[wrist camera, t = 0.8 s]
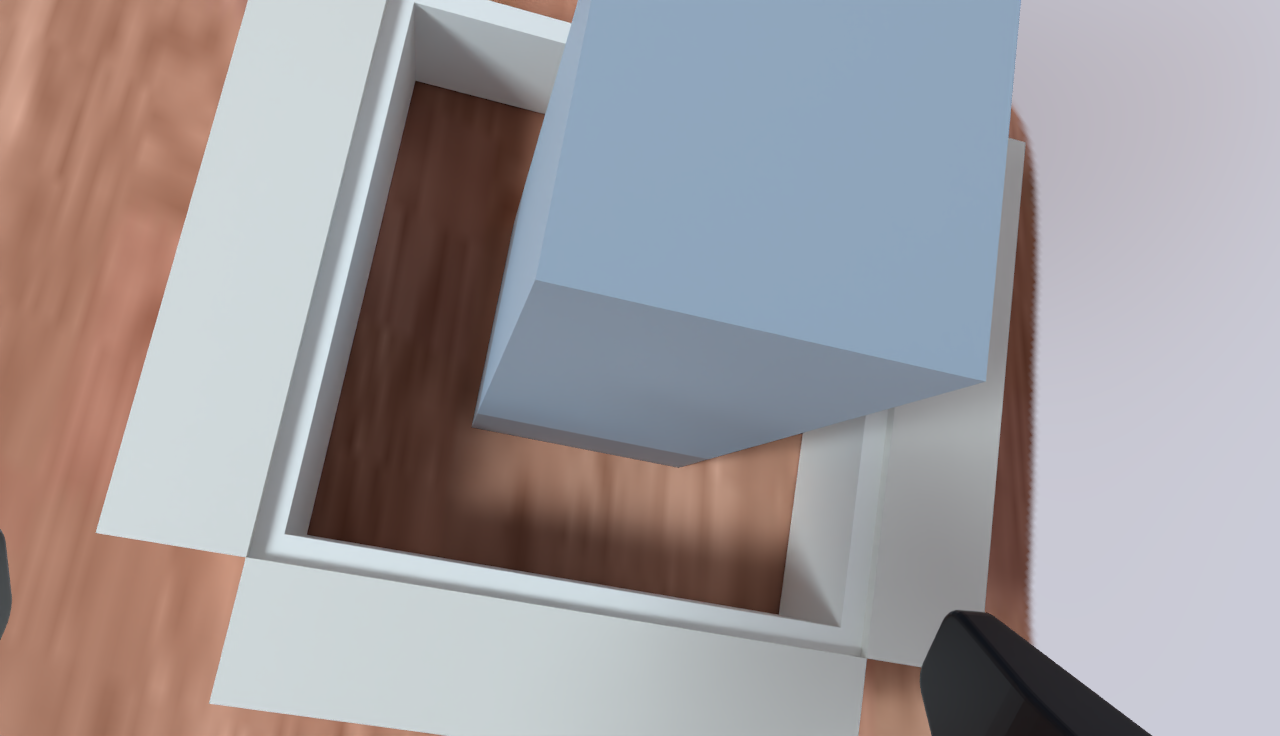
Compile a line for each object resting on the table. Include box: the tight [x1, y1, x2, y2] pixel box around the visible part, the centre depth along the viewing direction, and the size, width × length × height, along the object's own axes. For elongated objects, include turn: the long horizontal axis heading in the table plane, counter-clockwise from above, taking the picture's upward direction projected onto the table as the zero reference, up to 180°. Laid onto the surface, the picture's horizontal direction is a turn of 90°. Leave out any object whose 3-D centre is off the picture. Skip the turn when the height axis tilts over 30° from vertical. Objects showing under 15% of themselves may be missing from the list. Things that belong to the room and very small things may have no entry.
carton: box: [96, 0, 1025, 736], centre depth 21 cm, size 14×17×4 cm
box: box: [472, 0, 1021, 468], centre depth 17 cm, size 5×5×13 cm
